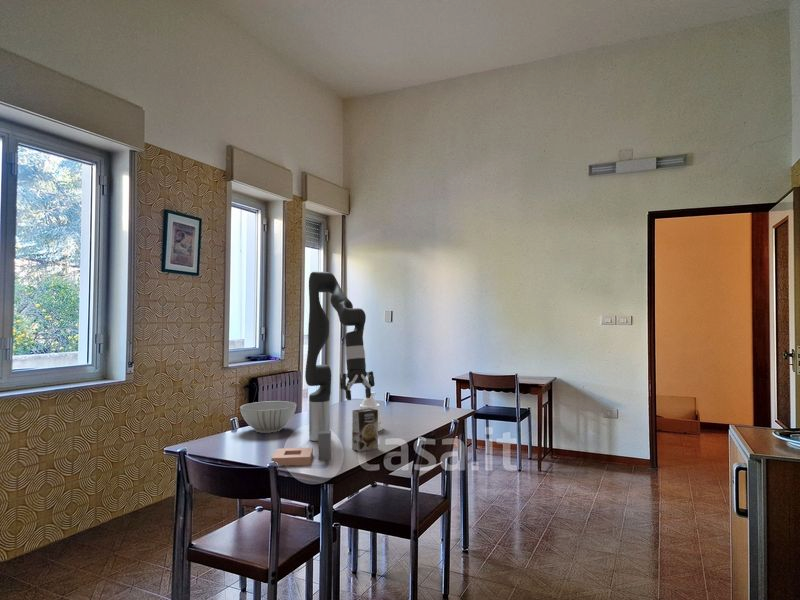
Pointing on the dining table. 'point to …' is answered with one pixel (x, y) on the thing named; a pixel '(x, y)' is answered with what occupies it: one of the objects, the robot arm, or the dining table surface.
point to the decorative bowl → (268, 415)
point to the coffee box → (364, 429)
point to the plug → (324, 445)
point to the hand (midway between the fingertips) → (358, 399)
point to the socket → (293, 456)
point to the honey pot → (372, 407)
